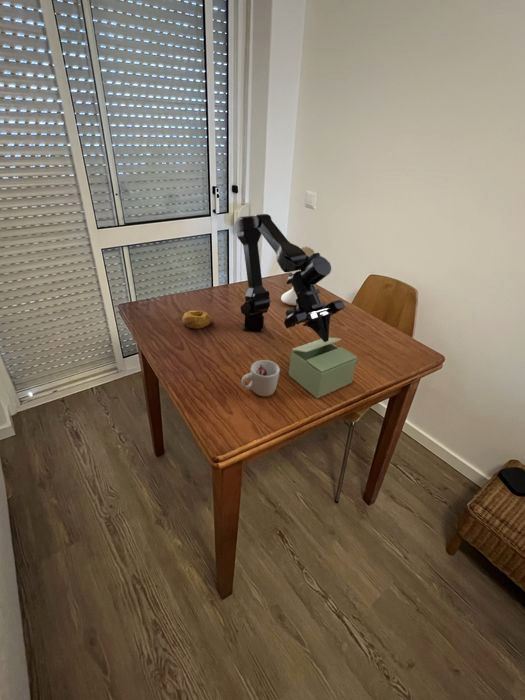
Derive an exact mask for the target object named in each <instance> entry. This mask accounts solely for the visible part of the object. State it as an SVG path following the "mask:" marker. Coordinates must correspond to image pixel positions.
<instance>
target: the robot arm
mask: <svg viewBox="0 0 525 700" xmlns="http://www.w3.org/2000/svg"><path fill="white" fill-rule="evenodd" d="M234 230H235V232H236V237H237V239H238V240H239V242H240V243H241V244H242V247H243V254H244V262H245V263H244V264H245V271H246V279H247V285H248V288H247V291H246V293H245V295H244V300H245V302H244V303H243V304H242V305H240V312H241V314H243V316H244V326H243V331H247V332H256V333H261V332H262V330H263V329H264V326H265V315H264V314H267V313H268V311H269V308H270V306H271V302H272V301H271V298H270V292H269V290H266V288H265V287H264V286H263V285H264V284H263V277H262V269H261V259H260V250H259V241H260V239H261V236H262V237H263V238H264V240H265V241H266V242H267V243H268V245H269V246H270V247H271V249H272V250H273V251H274V253H275V255H276V262H277V264H278V265H279V267H280V269H281V271H282V272H283V273H291V272H292V271H297V270H300V271H297V272H296V273H294V274H292V273H291V274H288V278H287V279H286V284H287V285H291V286H292V287H293V288H294V290H295V293H296V295H297V299H296V304H297V306H296V307H294V308H290V309H287V310H286V311H285V315H286V317H285V318H284V326H285V329H290V328H293V327H296V326H297V325H300V324H302V326H303V327H308V328H310V329H311V330H313V331H314V333H315V334H316V335H317V336H318V337H319V338H320V339H322V340H323V341H324V342H327V341H328V340H329V338H330V337H329V336H330V323H331V316H333V315H335V314H338V313H339V312H340V311H342V310H344V309H346V306H345V303H344V301H343V300H341V299H337V300H334V301H331V302H329V303H328V304H326V301H324V302H322V301H321V298H320V296H319V294H320V293H321V290H320V289H319V288H316V287H315V285H317V284H318V283H320V282H321V281H322V280H323V279H325V278H326V277H327V276H329V275H330V274H331V272H332V265H331V263H330V261H328V259H327V258H325V257H324V256H321V253H320V252H314V253H313V254H312V255H311V256H310V257H308V256H307V255H306V254H305V252H304V251H303V250H302V249H300V248H301V247H300V246H298V245H296V244H294V243H292V242H290V241H289V240H288V239H287V237H286V236H285V235H284V234H283V232H282V231H281V230H280V229H279V228H278V226H277V225H276V223H275V222H274V221H273V220H272V217H271V215H270V214H268V213H261V214H255V215H244V216H238V217H237V219H236V221H235V222H234Z"/></svg>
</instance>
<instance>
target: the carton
mask: <svg viewBox="0 0 525 700" xmlns="http://www.w3.org/2000/svg"><path fill="white" fill-rule="evenodd" d="M357 361H358V356H356V355H355V354H353V353H352V352H350V351H349V350H347V349H346V348H344V347H342V346H340V347H338V346H337V345H335V344H334V343H331V344H328V345H325V346H323V347H320V348H317V349H314V350H311V351H309V352H300V351H293V350H291V351H290V359H289V366H288V376H289V377H290V378H292V379H293V380H294V381H295V382H296V383H298V384H299V385H300V386H301V387H302V388H304V389H305V390H306V391H307V392H308V393H310V394H311V395H312V396H313V397H314V398H316V399H320V398H322V397H324V396H326V395H329V394H331V393H332V392H334V391H337V390H339V389H341V388H343V387H345V386H348V385H351V384H352V383H353V379H354V374H355V371H356V366H357Z"/></svg>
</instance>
